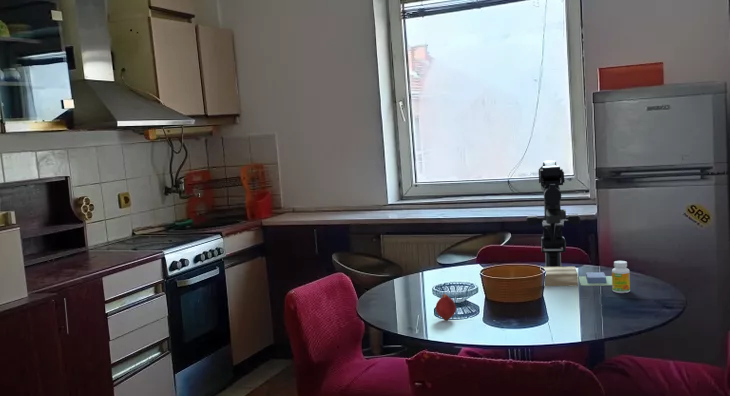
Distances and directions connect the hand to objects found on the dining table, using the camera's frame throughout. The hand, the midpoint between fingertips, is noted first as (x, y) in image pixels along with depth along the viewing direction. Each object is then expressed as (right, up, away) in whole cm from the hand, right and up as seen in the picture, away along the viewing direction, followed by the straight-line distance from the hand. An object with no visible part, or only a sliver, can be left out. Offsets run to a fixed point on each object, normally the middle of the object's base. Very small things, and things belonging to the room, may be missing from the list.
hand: (553, 243), depth 253 cm
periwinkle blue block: (+11, -10, -11) cm, 19 cm away
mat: (+12, -12, -11) cm, 21 cm away
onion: (-45, -20, -47) cm, 68 cm away
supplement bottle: (+15, -14, -27) cm, 34 cm away
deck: (0, -13, -8) cm, 15 cm away
